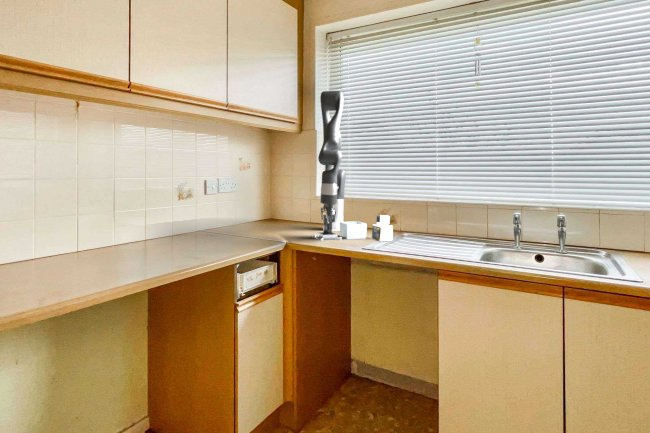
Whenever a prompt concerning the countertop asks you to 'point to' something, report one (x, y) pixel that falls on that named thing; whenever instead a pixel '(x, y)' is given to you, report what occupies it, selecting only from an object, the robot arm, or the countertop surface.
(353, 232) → the bin
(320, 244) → the countertop surface
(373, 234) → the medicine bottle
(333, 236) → the mount
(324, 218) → the black and gold cylinder
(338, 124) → the robot arm
